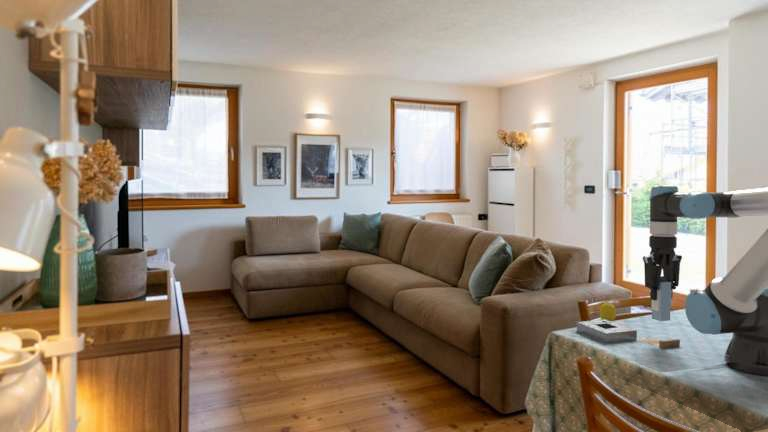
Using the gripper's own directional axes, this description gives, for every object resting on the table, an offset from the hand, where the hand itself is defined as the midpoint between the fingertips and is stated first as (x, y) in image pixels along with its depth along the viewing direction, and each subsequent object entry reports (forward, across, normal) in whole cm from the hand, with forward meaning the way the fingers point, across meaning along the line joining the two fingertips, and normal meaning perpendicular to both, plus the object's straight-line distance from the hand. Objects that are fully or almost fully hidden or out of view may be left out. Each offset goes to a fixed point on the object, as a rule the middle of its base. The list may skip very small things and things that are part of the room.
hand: (661, 309), depth 162 cm
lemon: (+11, -3, -27) cm, 29 cm away
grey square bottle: (+3, 0, 0) cm, 3 cm away
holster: (+12, 0, -1) cm, 12 cm away
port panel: (+12, +10, -13) cm, 20 cm away
